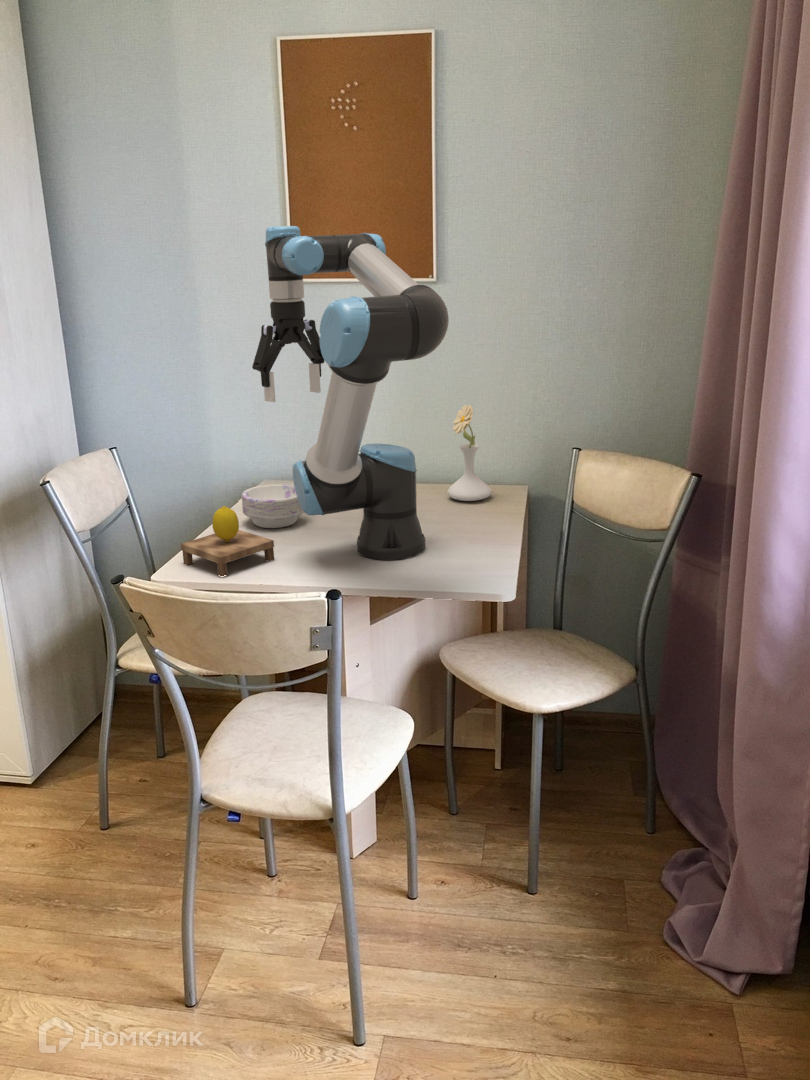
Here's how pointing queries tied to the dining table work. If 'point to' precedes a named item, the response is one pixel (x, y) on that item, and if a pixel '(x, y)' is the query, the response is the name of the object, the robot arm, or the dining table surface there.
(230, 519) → the lemon
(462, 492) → the flower in vase
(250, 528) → the dining table surface
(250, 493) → the paper bowls
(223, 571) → the footstool
